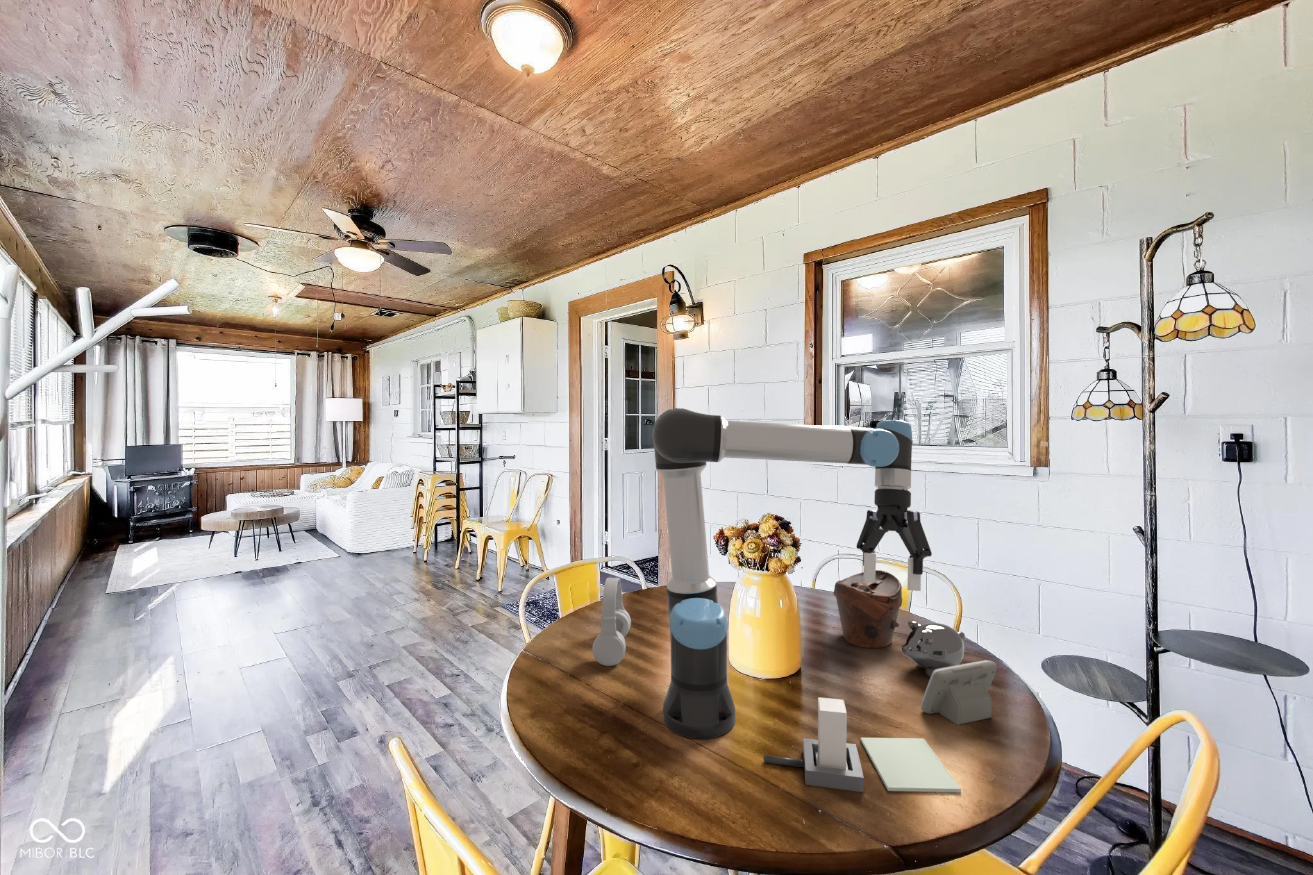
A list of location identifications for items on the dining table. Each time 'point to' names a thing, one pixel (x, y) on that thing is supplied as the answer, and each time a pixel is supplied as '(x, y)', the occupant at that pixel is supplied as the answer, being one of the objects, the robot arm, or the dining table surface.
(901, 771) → the mat
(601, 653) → the headphones
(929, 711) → the digital clock
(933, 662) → the piggy bank
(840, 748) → the plug
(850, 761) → the socket block
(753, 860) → the dining table surface
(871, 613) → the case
